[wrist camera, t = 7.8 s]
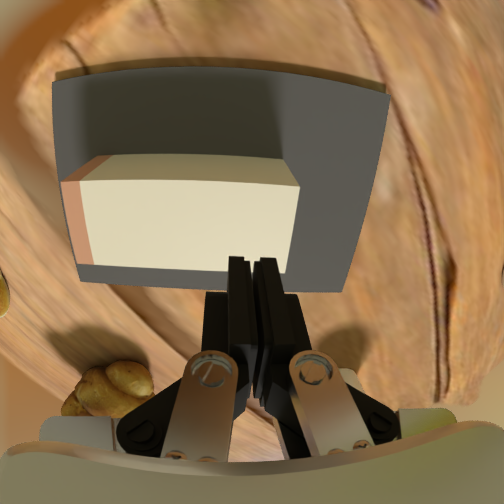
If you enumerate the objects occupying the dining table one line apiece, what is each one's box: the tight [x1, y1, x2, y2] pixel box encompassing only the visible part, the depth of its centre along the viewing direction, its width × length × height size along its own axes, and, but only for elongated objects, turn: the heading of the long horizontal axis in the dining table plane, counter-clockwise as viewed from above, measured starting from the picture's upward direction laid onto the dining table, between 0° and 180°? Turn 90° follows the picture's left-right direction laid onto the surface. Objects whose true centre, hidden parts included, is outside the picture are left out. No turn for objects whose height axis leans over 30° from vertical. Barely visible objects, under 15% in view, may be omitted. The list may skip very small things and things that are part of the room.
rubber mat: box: [52, 66, 391, 292], centre depth 19 cm, size 22×16×1 cm
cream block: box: [61, 154, 300, 273], centre depth 16 cm, size 5×5×12 cm
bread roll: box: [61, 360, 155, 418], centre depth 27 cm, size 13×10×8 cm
